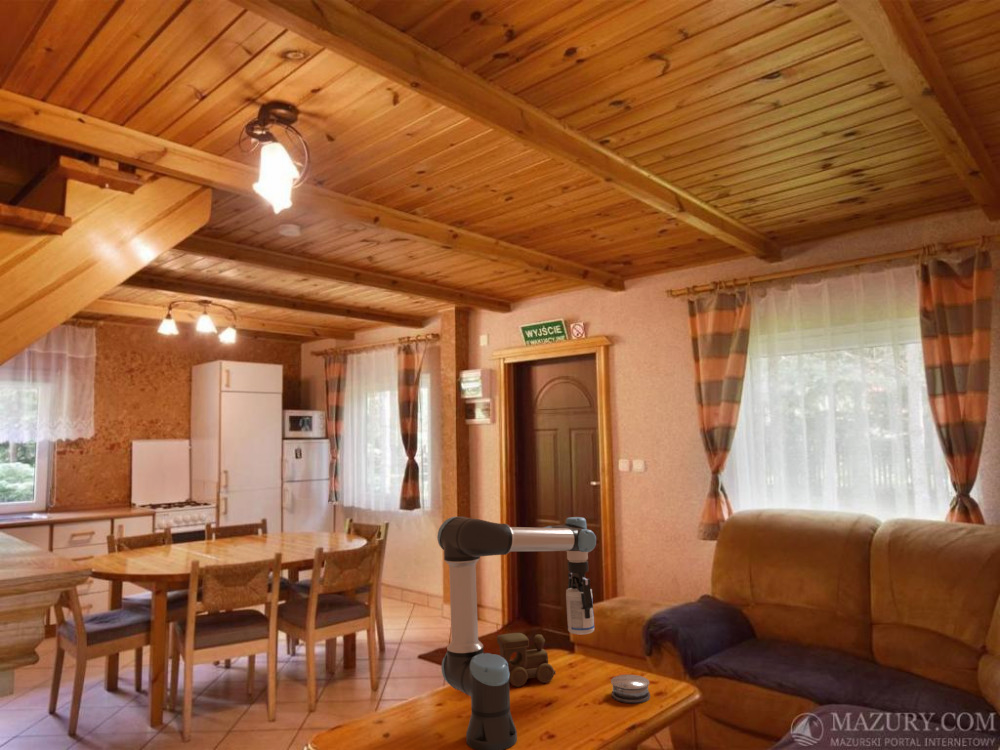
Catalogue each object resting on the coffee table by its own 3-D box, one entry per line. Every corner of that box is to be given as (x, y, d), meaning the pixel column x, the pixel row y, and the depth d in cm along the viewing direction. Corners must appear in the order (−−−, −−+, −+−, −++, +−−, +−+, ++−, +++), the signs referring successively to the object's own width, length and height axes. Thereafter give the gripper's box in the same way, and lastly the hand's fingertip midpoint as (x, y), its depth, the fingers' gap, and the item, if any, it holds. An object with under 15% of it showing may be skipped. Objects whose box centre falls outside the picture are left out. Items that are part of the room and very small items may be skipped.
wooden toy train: (505, 690, 236) (504, 642, 238) (497, 679, 247) (495, 634, 249) (557, 682, 242) (555, 636, 244) (546, 672, 253) (545, 628, 255)
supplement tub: (599, 632, 235) (597, 589, 237) (579, 636, 230) (577, 593, 232) (582, 626, 243) (580, 585, 245) (562, 631, 238) (560, 589, 240)
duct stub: (623, 706, 218) (622, 690, 219) (605, 692, 230) (604, 678, 231) (657, 699, 222) (656, 684, 223) (637, 687, 235) (636, 672, 235)
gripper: (600, 564, 230) (604, 630, 228) (574, 555, 251) (577, 615, 249) (581, 566, 228) (584, 633, 225) (556, 556, 249) (559, 617, 246)
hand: (580, 623), depth 237 cm, fingers closed on supplement tub, 10 cm apart
